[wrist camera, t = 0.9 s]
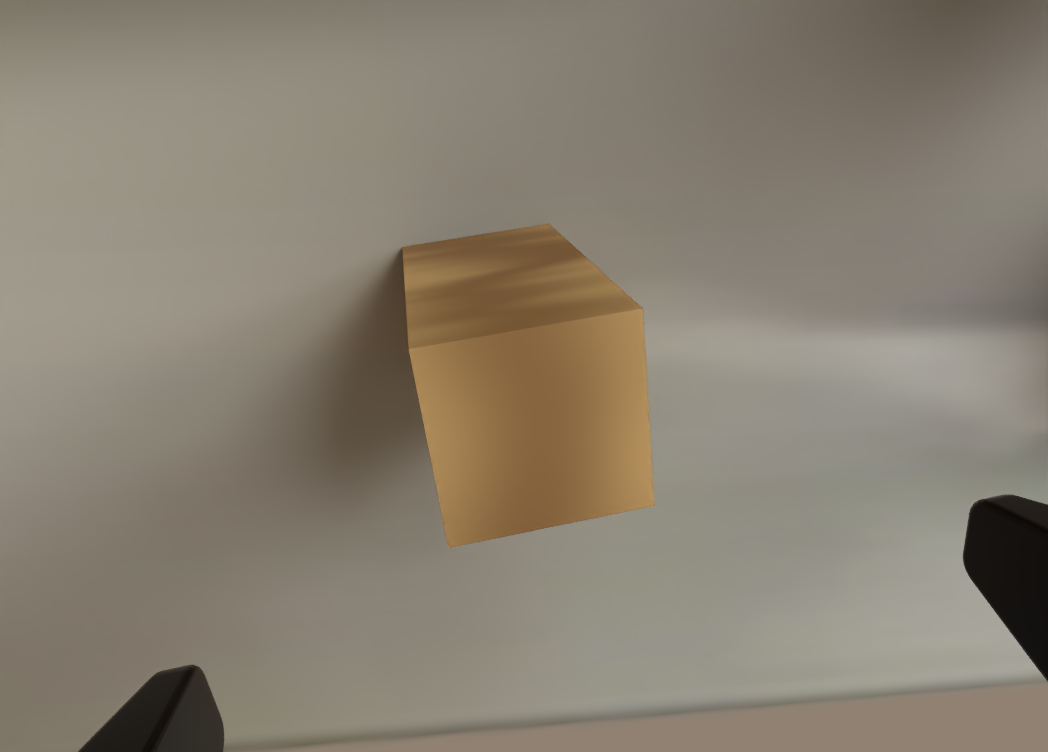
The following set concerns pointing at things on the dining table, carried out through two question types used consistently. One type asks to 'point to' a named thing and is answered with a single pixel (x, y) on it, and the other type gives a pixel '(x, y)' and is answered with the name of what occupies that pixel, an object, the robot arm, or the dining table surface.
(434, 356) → the wooden block
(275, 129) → the dining table surface
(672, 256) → the dining table surface
